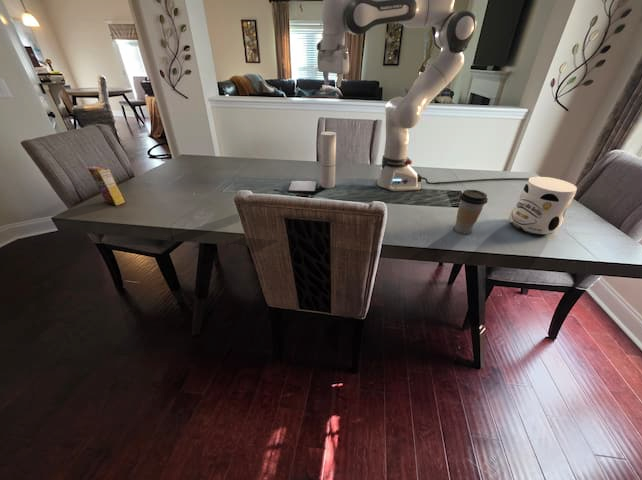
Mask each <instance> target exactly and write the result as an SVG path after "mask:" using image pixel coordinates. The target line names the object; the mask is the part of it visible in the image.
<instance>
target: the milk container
mask: <svg viewBox="0 0 642 480" xmlns="http://www.w3.org/2000/svg"><path fill="white" fill-rule="evenodd" d="M528 178H529V180H526V181H527V182H526V183H525V185H524V187H523V189H522V191H521V194H520V196H519V197H518V200H517V201H516V203H515V204H514V205H513V206H512V208H511V210H510V211H509V215H508V223H510V225H511V226H513V227H514V228H515V229H517V230H520V231H521V232H524V233H526V234H531V235H535V236H536V235H537V236H546V235H552V234H554V233H555V232H557V230H558V229H559V228H560V227H561V226H562V224H563V221H564V218H565V213H566V211H567V209H568V208H569V206H570V205H571V203H572V202H573V199H574V197H575V196H576V193H577V190H578V187H577V186H576V185H575V184H573V183H571V182H570V181H566V180H563V179H559V178H554V177H549V176H532V177H528Z"/></svg>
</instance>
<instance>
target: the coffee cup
mask: <svg viewBox="0 0 642 480" xmlns="http://www.w3.org/2000/svg"><path fill="white" fill-rule="evenodd" d="M459 199H460V202H459V203H458V209H457V212H456V213H457V214H456V219H455V220H456V221H455V226H454V231H455V232H456V233H458V234H459V233H460V234H463V235H468V234H470V233H471V231H472V230H473V227H474V225H475V224H476V222H477V220H478V219H479V216H480V214H481V213H482V210H483V208H484V206H485V204H487V203H488V201H489V200H488V195H487V194H486V193H485V192H483V191H480V190H476V189H465V190H463V192H462V193H461V194H460V195H459Z"/></svg>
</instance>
